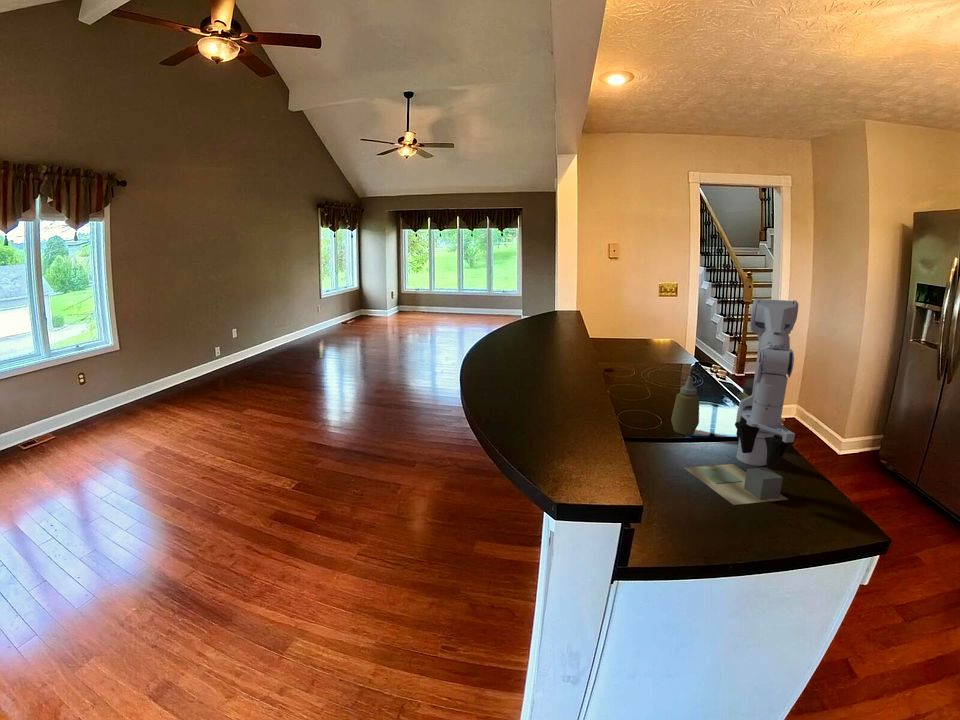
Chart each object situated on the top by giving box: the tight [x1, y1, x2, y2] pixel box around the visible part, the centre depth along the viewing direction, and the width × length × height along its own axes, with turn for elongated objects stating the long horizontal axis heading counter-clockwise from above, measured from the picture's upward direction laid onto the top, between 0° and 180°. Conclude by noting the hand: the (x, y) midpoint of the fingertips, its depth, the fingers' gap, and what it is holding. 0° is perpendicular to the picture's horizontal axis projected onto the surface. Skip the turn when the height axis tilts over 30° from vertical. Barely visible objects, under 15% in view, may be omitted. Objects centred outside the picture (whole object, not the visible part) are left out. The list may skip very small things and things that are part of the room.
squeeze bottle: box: [670, 375, 700, 436], centre depth 146 cm, size 8×8×18 cm
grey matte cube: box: [744, 466, 784, 499], centre depth 108 cm, size 5×5×5 cm
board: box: [684, 463, 789, 506], centre depth 113 cm, size 14×18×6 cm
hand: (758, 459), depth 107 cm, fingers open, 7 cm apart
